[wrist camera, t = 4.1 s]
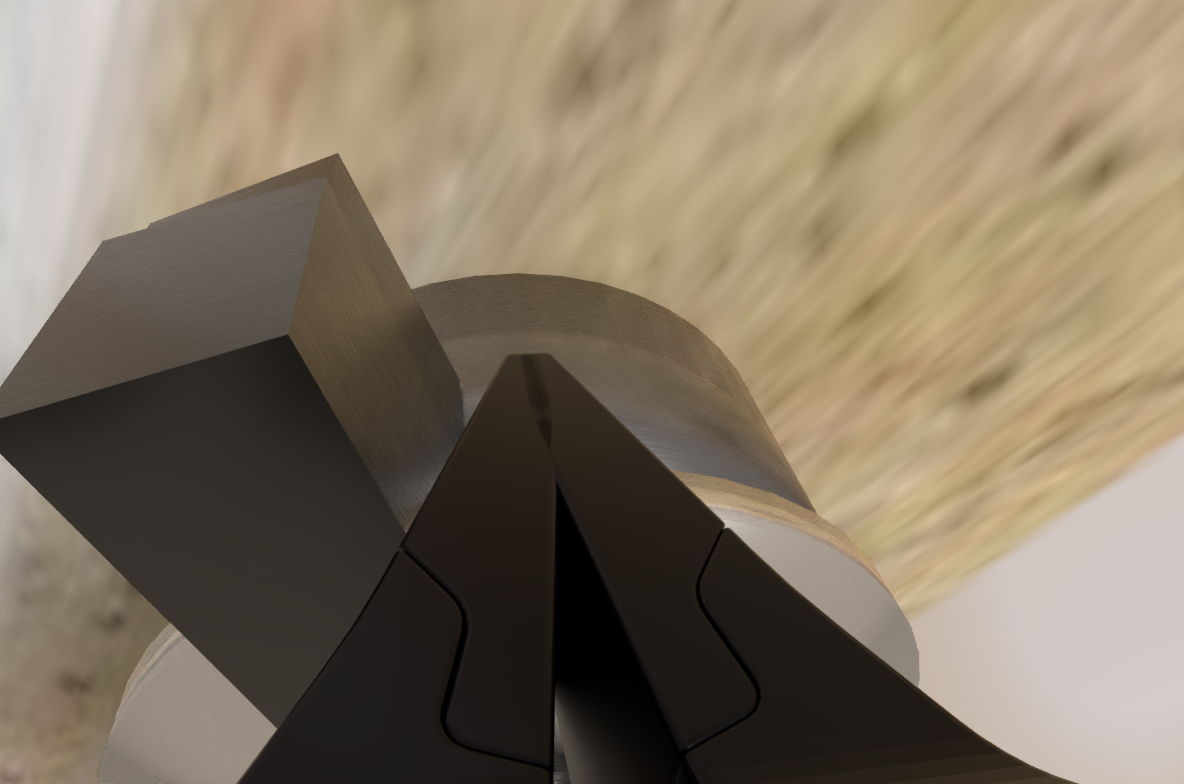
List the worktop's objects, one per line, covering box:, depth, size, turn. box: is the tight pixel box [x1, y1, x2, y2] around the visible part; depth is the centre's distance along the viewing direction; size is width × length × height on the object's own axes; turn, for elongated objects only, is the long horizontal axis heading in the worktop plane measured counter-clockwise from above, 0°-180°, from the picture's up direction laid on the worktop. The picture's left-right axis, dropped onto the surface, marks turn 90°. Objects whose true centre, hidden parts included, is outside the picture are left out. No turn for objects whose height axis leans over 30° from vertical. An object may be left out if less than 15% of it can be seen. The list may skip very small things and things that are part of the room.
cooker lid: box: [0, 176, 919, 784], centre depth 14 cm, size 21×16×4 cm
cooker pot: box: [148, 153, 817, 514], centre depth 18 cm, size 20×15×7 cm
